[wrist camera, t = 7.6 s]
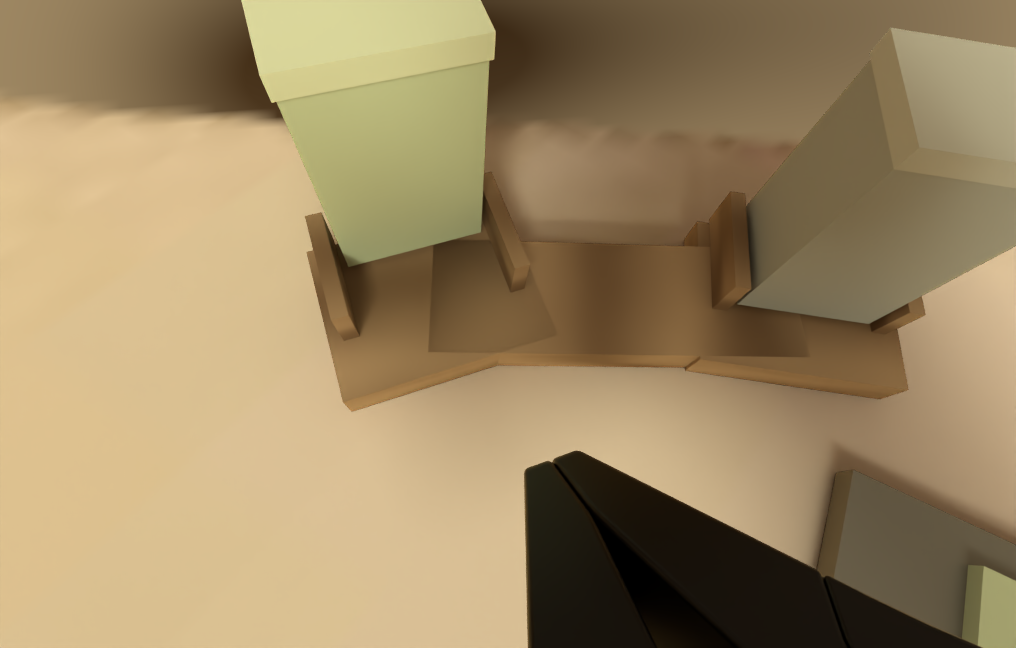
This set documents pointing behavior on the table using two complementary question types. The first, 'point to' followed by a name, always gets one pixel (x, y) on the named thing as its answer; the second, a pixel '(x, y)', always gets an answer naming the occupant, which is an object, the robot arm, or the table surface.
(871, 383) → the brown holder tray
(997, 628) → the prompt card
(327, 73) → the sage key
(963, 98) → the slate key
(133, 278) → the table surface
